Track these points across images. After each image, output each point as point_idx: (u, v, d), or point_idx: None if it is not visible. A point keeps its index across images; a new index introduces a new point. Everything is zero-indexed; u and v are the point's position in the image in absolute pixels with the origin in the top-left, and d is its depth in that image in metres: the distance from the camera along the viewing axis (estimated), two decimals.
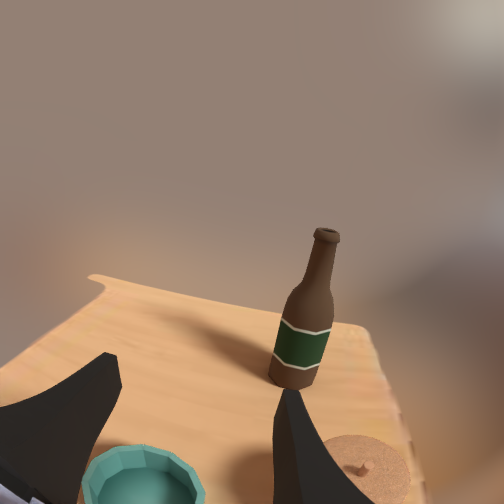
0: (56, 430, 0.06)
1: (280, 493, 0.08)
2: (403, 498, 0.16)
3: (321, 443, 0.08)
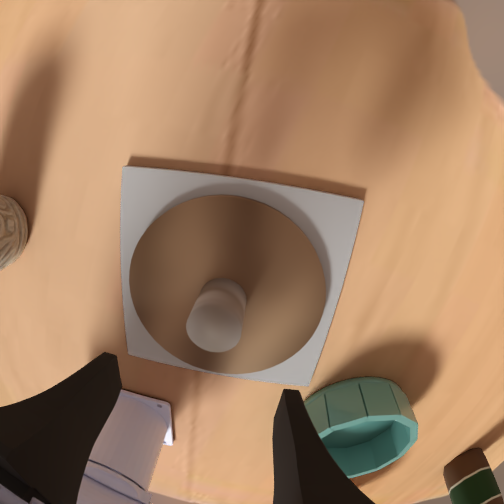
0: (56, 430, 0.06)
1: (280, 493, 0.08)
2: None
3: (321, 443, 0.08)
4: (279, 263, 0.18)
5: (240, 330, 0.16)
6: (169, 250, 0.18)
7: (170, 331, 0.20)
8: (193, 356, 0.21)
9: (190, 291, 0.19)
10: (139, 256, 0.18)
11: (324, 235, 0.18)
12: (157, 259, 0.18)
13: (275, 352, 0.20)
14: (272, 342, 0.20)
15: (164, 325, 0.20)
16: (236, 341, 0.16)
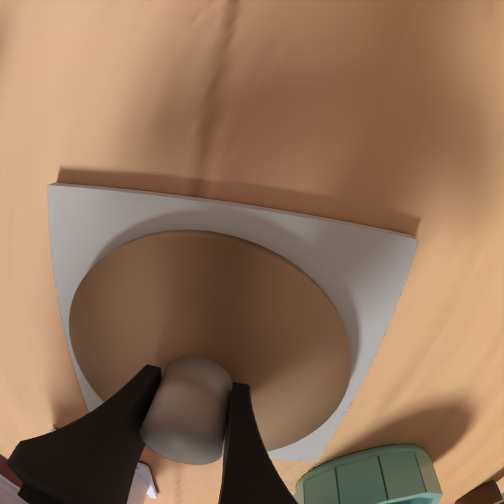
0: (111, 453, 0.06)
1: (221, 487, 0.08)
2: None
3: (258, 439, 0.08)
4: (282, 339, 0.11)
5: (220, 448, 0.09)
6: (115, 313, 0.11)
7: None
8: None
9: None
10: (77, 317, 0.11)
11: (355, 293, 0.11)
12: (101, 324, 0.11)
13: (275, 438, 0.13)
14: (270, 428, 0.13)
15: None
16: (215, 457, 0.09)
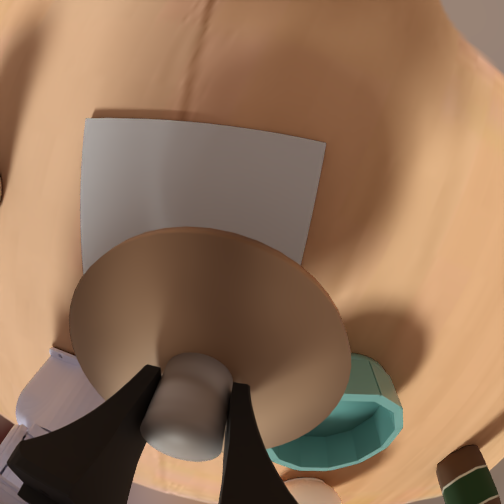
0: (111, 453, 0.06)
1: (221, 487, 0.08)
2: None
3: (259, 439, 0.08)
4: (281, 335, 0.11)
5: (220, 444, 0.09)
6: (114, 311, 0.11)
7: None
8: None
9: None
10: (78, 315, 0.11)
11: (283, 179, 0.16)
12: (101, 322, 0.11)
13: (275, 434, 0.13)
14: (271, 425, 0.13)
15: None
16: (216, 454, 0.09)
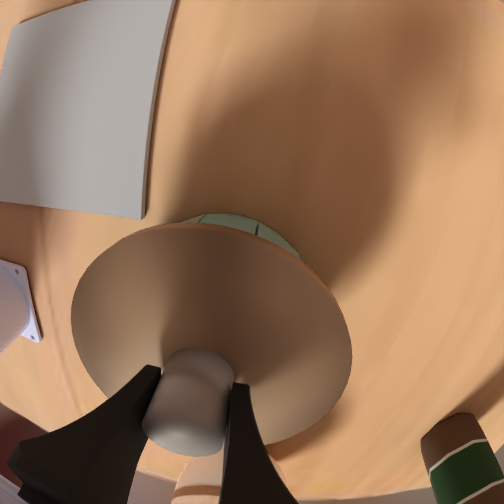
0: (111, 453, 0.06)
1: (221, 487, 0.08)
2: None
3: (258, 439, 0.08)
4: (279, 326, 0.11)
5: (221, 438, 0.09)
6: (114, 310, 0.11)
7: None
8: None
9: (153, 363, 0.12)
10: (79, 316, 0.12)
11: (137, 21, 0.13)
12: (101, 321, 0.12)
13: (281, 428, 0.13)
14: (275, 418, 0.13)
15: None
16: (218, 448, 0.09)
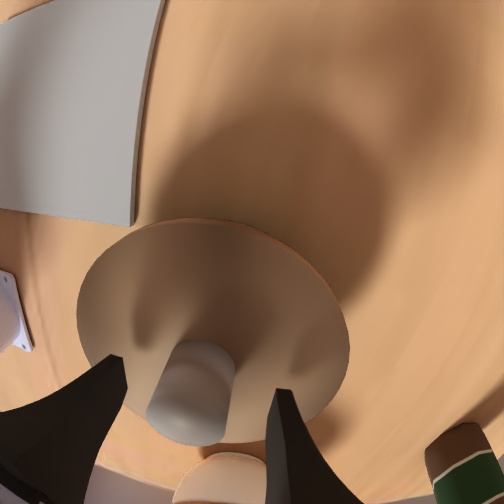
0: (63, 434, 0.06)
1: (271, 492, 0.08)
2: None
3: (312, 443, 0.08)
4: (279, 317, 0.11)
5: (223, 426, 0.09)
6: (119, 303, 0.12)
7: (142, 399, 0.14)
8: None
9: (157, 355, 0.13)
10: (85, 310, 0.12)
11: (126, 12, 0.11)
12: (107, 314, 0.12)
13: None
14: None
15: (133, 392, 0.14)
16: (220, 437, 0.10)
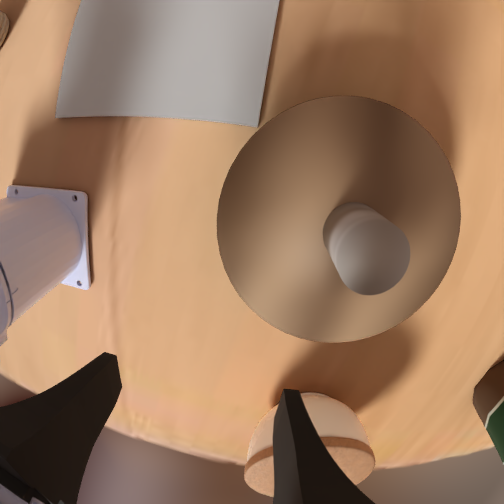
0: (56, 430, 0.06)
1: (280, 493, 0.08)
2: (259, 492, 0.20)
3: (321, 443, 0.08)
4: (418, 181, 0.13)
5: (408, 256, 0.11)
6: (284, 165, 0.13)
7: (274, 289, 0.15)
8: (301, 323, 0.16)
9: (310, 224, 0.14)
10: (237, 177, 0.13)
11: None
12: (265, 179, 0.13)
13: (404, 303, 0.15)
14: (403, 289, 0.15)
15: (265, 280, 0.15)
16: (402, 273, 0.11)
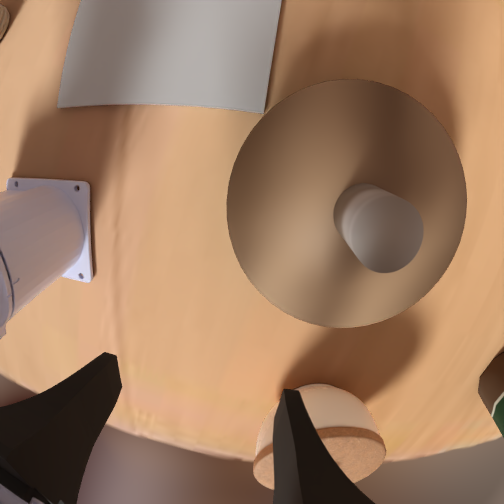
0: (56, 430, 0.06)
1: (280, 493, 0.08)
2: (268, 487, 0.20)
3: (321, 443, 0.08)
4: (425, 163, 0.13)
5: (422, 233, 0.10)
6: (294, 146, 0.13)
7: (285, 273, 0.15)
8: (312, 307, 0.16)
9: (321, 205, 0.14)
10: (247, 159, 0.13)
11: None
12: (275, 161, 0.13)
13: (414, 286, 0.15)
14: (412, 271, 0.15)
15: (276, 264, 0.15)
16: (415, 251, 0.11)
